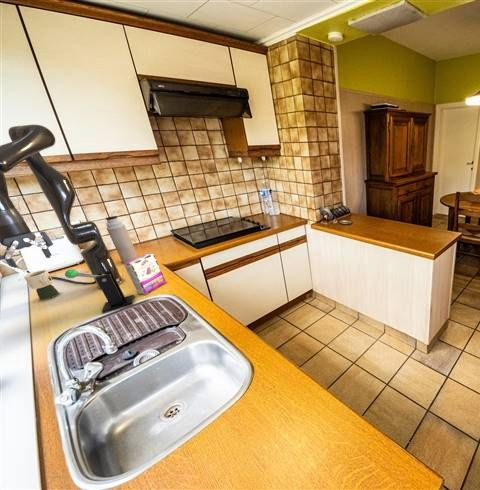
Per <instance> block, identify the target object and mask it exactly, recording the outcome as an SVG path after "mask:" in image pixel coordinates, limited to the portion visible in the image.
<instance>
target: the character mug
mask: <svg viewBox="0 0 480 490" xmlns="http://www.w3.org/2000/svg"><path fill="white" fill-rule="evenodd" d="M23 277H24V279H25V281H26V283H27V284H28V286H29V287H30V288H31V289H32V290H35V291H36V294H37V296H38V299H39V300H41V301H43V300H48V299H52V298H54V297H57V296H58V295H59V294H60V292H59V291H58V290H57V288H56V287H55V286H54V285H53V283H54V280H53V278H51V277H52V276H51V275H50V273H49V272H48V270H46V269H43V270H38V271H34V272H30V273H28V274H26V275H24V276H23Z"/></svg>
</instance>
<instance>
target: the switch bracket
mask: <svg viewBox="0 0 480 490" xmlns="http://www.w3.org/2000/svg"><path fill="white" fill-rule="evenodd" d="M102 274H106V275H102ZM98 275H102V276H98V277H96V280H97V282H98V284H99V286H100V288H101V289H100V290H101V291H102V293H103V295H104V297H105V299H106V302H105V303H104V305H103V307H102V309H101V313H102V314H106V313H108V312H112V311H115V310H119V309H122V308H125V307H129V306H132V305H133V303H134V299H135V295H134V294H131V295H126V296H125V294H124V292H123V291H122V288H121V287H120V284H118V282H117V280H116V278H115V276H114V274H113V272H112V270H110V271H106V272H102V273H98Z"/></svg>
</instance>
